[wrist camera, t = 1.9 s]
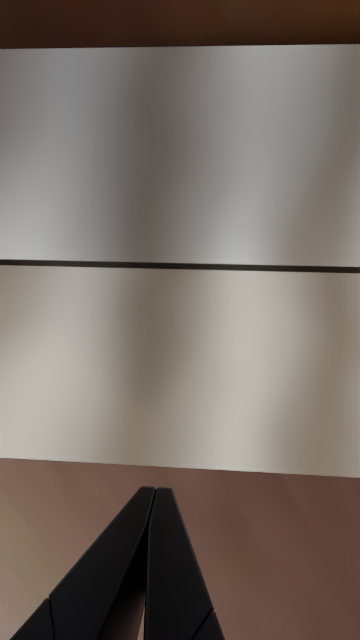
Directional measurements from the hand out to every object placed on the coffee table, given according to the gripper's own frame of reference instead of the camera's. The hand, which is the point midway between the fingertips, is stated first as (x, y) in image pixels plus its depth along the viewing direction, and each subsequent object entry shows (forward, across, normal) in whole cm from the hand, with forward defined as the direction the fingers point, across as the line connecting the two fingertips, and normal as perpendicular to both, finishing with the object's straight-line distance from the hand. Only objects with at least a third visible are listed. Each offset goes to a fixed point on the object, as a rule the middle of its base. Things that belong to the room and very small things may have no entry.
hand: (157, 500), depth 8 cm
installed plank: (+7, 0, -10) cm, 12 cm away
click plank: (+5, 0, -2) cm, 5 cm away
